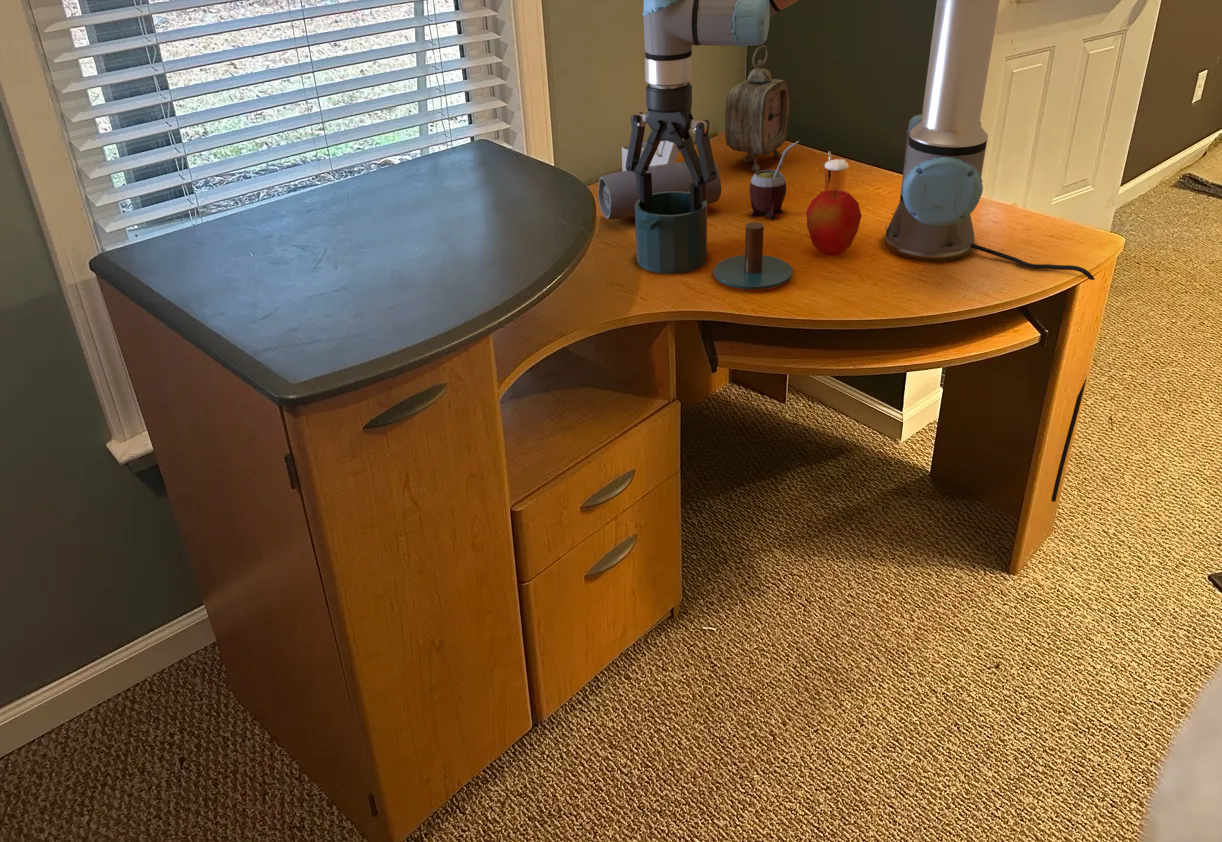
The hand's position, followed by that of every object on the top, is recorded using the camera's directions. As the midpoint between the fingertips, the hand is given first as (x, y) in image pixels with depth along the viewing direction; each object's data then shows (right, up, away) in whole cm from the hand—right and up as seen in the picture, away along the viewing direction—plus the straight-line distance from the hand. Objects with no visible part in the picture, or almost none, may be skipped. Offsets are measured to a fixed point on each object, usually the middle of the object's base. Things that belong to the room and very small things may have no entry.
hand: (671, 215), depth 172 cm
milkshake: (+33, +7, +24) cm, 42 cm away
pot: (0, -7, +4) cm, 8 cm away
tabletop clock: (+22, +21, +48) cm, 57 cm away
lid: (+14, -11, -3) cm, 18 cm away
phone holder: (-1, +15, +40) cm, 43 cm away
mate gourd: (+21, +4, +21) cm, 30 cm away
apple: (+29, -6, +4) cm, 30 cm away
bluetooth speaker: (-1, +5, +23) cm, 24 cm away
